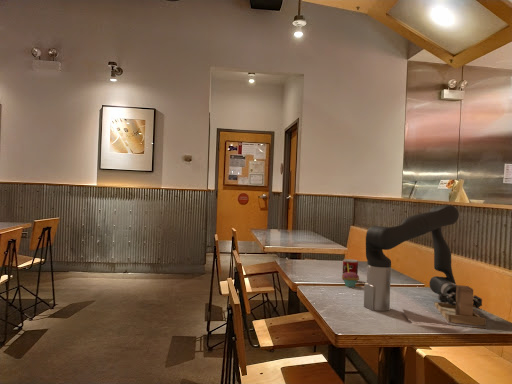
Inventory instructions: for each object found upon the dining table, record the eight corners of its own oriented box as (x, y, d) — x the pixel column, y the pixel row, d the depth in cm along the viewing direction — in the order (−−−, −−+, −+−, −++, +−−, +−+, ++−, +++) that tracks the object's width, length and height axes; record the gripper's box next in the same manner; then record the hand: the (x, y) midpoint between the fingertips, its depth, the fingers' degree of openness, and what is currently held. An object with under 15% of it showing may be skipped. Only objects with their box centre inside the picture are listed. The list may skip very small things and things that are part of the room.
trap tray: (434, 308, 160) (434, 299, 160) (466, 311, 157) (466, 302, 157) (448, 325, 138) (448, 314, 138) (485, 329, 135) (485, 318, 136)
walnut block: (455, 317, 145) (456, 285, 145) (466, 318, 144) (468, 286, 144) (460, 321, 139) (461, 288, 139) (472, 323, 138) (473, 289, 138)
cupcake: (346, 288, 191) (347, 263, 191) (338, 284, 199) (339, 260, 199) (362, 287, 193) (362, 263, 193) (353, 283, 201) (354, 260, 201)
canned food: (339, 279, 211) (340, 259, 211) (351, 278, 215) (351, 258, 215) (348, 282, 204) (349, 261, 205) (360, 281, 208) (361, 261, 208)
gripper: (434, 282, 157) (444, 291, 141) (472, 285, 154) (487, 295, 138) (433, 301, 157) (443, 312, 141) (472, 304, 154) (486, 316, 138)
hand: (465, 304), depth 139 cm, fingers open, 8 cm apart
